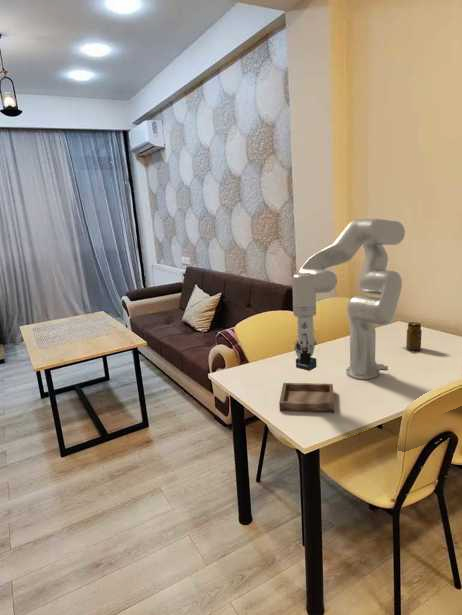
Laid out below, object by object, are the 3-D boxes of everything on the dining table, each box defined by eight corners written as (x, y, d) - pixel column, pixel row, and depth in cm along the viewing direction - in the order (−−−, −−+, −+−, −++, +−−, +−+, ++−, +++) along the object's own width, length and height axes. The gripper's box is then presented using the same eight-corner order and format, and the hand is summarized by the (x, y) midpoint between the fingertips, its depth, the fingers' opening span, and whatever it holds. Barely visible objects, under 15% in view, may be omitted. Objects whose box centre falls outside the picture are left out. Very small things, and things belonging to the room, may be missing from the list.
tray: (332, 391, 150) (332, 383, 149) (334, 413, 135) (334, 404, 134) (283, 390, 154) (283, 382, 153) (279, 411, 139) (279, 402, 138)
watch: (292, 369, 141) (291, 339, 138) (306, 362, 146) (305, 332, 144) (306, 373, 137) (305, 341, 134) (319, 365, 142) (318, 335, 140)
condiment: (415, 345, 189) (416, 320, 186) (427, 351, 181) (429, 325, 178) (401, 347, 188) (402, 322, 185) (413, 353, 180) (414, 327, 177)
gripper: (315, 317, 127) (316, 369, 132) (316, 303, 144) (317, 350, 148) (291, 317, 129) (293, 369, 133) (294, 304, 146) (296, 350, 150)
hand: (305, 359), depth 141 cm, fingers closed on watch, 8 cm apart
